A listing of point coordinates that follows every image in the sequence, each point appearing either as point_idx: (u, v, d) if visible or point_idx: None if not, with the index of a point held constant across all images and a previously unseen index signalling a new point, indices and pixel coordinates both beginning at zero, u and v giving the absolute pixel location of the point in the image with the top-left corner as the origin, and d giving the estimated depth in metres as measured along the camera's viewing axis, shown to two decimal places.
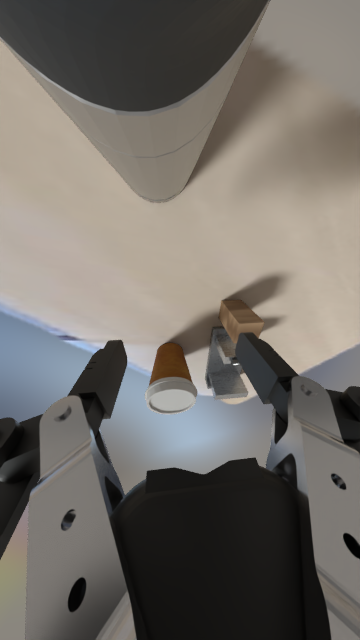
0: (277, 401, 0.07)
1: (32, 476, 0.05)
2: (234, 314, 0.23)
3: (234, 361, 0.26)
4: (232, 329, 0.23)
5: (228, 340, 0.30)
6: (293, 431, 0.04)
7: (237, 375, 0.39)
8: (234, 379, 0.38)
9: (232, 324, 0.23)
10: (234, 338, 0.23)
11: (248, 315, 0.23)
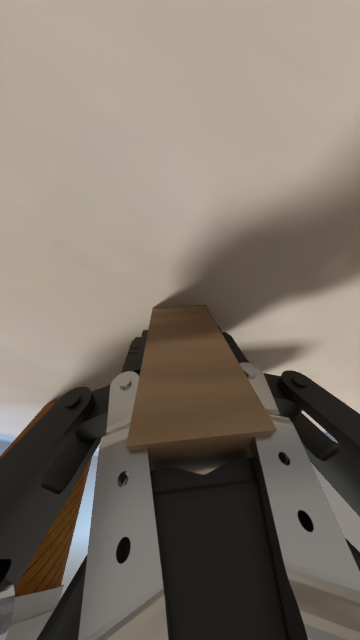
0: None
1: (93, 443, 0.06)
2: (151, 361, 0.06)
3: None
4: None
5: None
6: None
7: None
8: None
9: None
10: None
11: (205, 369, 0.05)
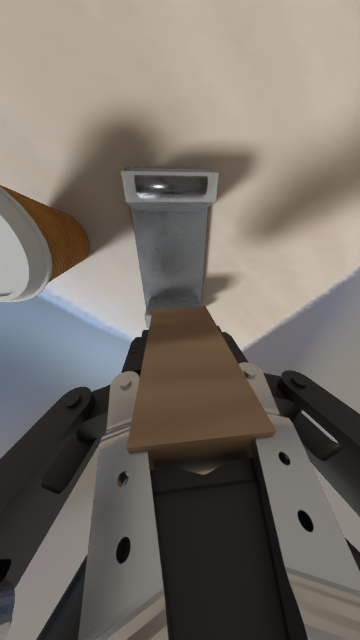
0: None
1: (93, 443, 0.06)
2: (151, 362, 0.06)
3: (138, 175, 0.11)
4: None
5: None
6: None
7: (194, 299, 0.24)
8: (187, 302, 0.23)
9: None
10: None
11: (205, 370, 0.06)
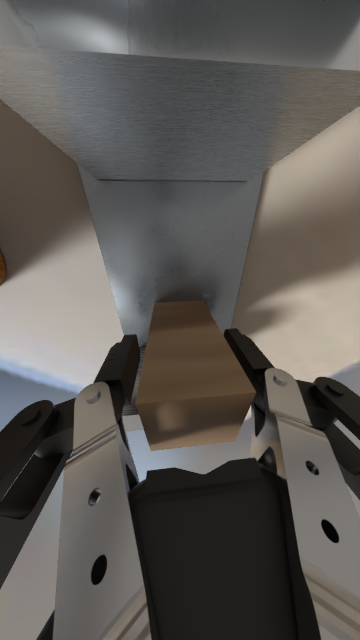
0: None
1: (62, 457, 0.05)
2: (153, 345, 0.07)
3: None
4: None
5: None
6: (270, 424, 0.05)
7: None
8: None
9: None
10: (148, 437, 0.06)
11: (200, 350, 0.06)
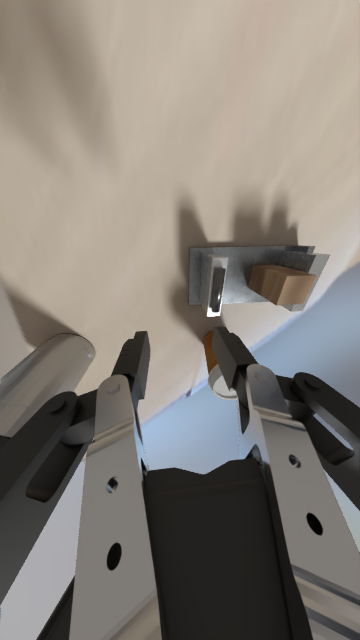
0: (238, 387, 0.07)
1: (81, 447, 0.06)
2: (265, 295, 0.22)
3: (212, 309, 0.20)
4: None
5: (201, 292, 0.24)
6: (254, 421, 0.05)
7: (286, 256, 0.23)
8: (288, 266, 0.23)
9: None
10: (295, 303, 0.20)
11: (272, 283, 0.20)
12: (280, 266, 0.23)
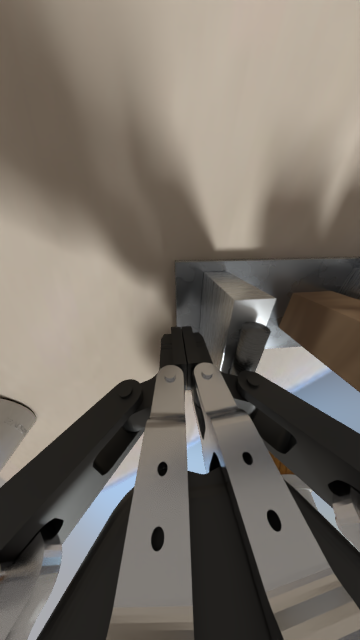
0: (191, 385, 0.07)
1: (135, 436, 0.06)
2: (327, 361, 0.11)
3: None
4: None
5: None
6: (209, 428, 0.04)
7: None
8: None
9: None
10: None
11: (355, 344, 0.09)
12: (349, 297, 0.12)
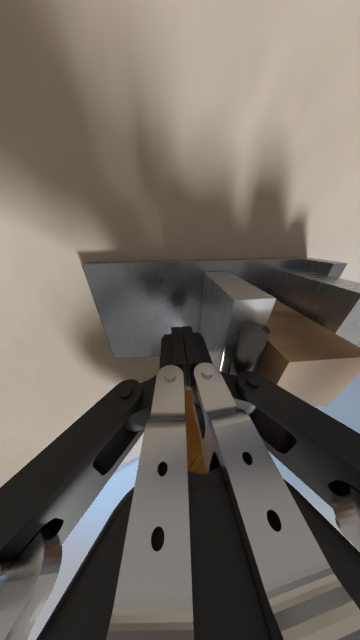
0: (191, 385, 0.07)
1: (135, 436, 0.06)
2: None
3: None
4: None
5: None
6: (209, 428, 0.04)
7: (284, 280, 0.11)
8: (288, 301, 0.11)
9: None
10: (308, 403, 0.08)
11: None
12: (275, 301, 0.11)
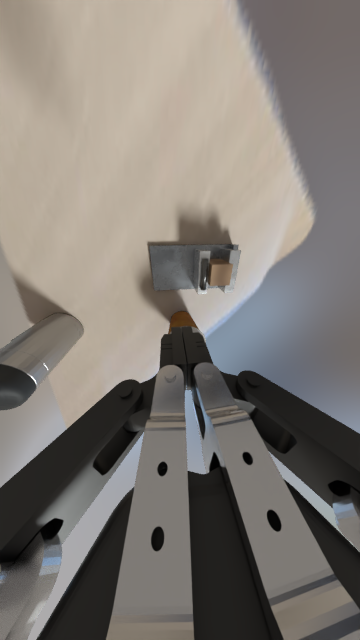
0: (192, 385, 0.07)
1: (135, 436, 0.06)
2: None
3: (201, 288, 0.29)
4: None
5: (194, 278, 0.33)
6: (209, 428, 0.04)
7: (221, 252, 0.31)
8: (222, 259, 0.31)
9: None
10: (224, 285, 0.28)
11: None
12: (220, 259, 0.31)
